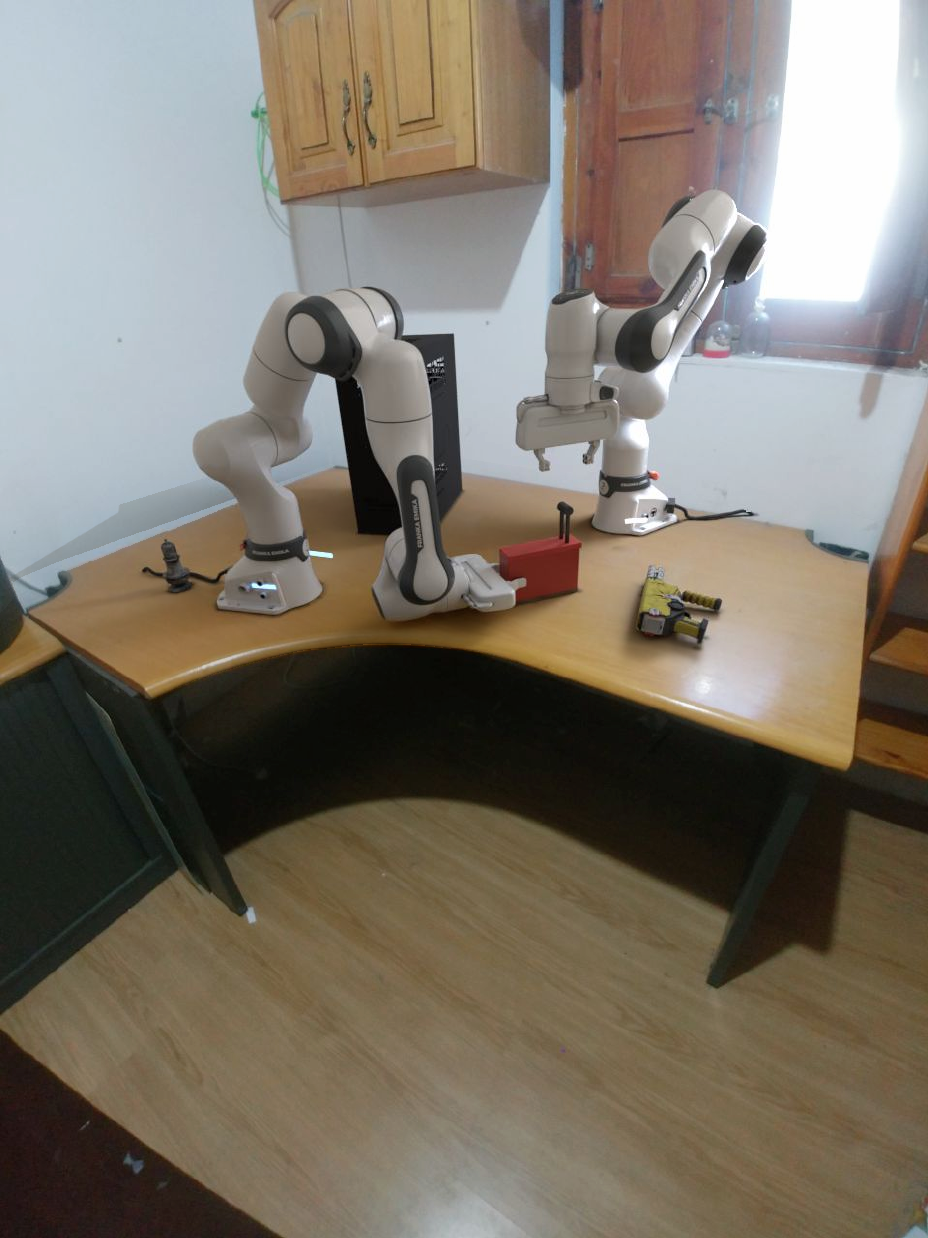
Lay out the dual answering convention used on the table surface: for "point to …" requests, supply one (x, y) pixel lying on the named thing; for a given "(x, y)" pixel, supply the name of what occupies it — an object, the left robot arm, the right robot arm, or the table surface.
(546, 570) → the chest
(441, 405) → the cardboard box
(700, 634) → the toy gun
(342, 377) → the left robot arm
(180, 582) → the salt shaker
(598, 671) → the table surface
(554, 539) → the lid
